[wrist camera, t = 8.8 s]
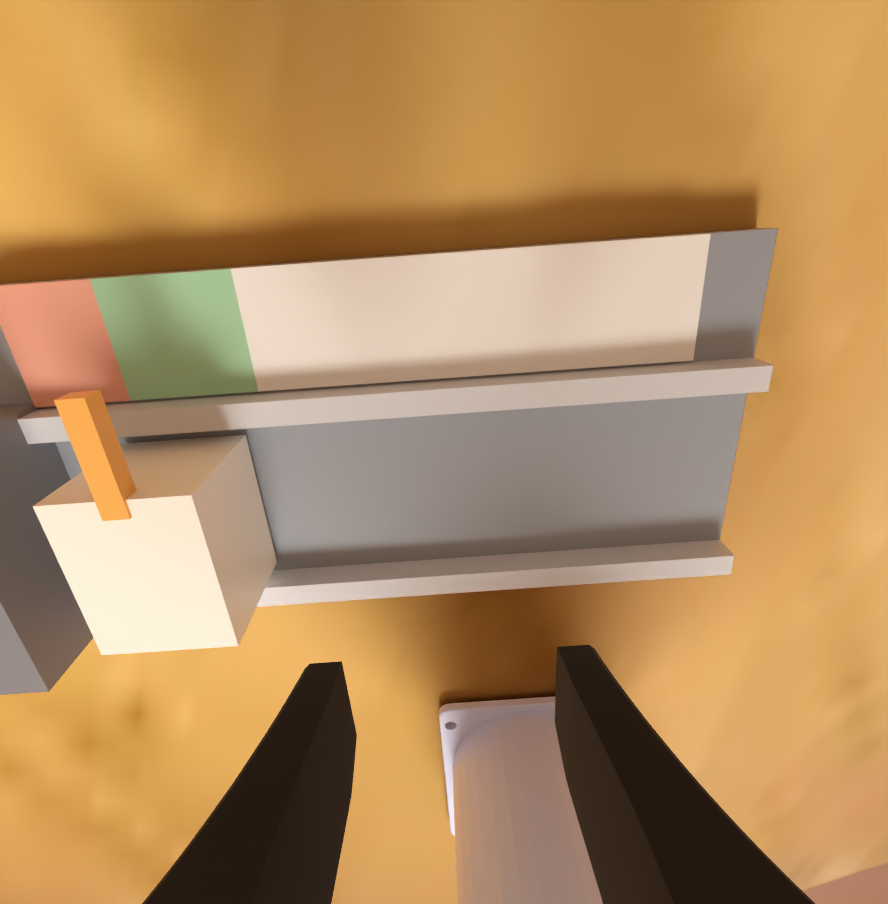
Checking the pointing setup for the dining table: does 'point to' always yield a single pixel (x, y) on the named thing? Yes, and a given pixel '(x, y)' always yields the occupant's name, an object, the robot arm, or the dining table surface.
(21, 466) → the gauge board
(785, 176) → the dining table surface
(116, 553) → the gauge slider
